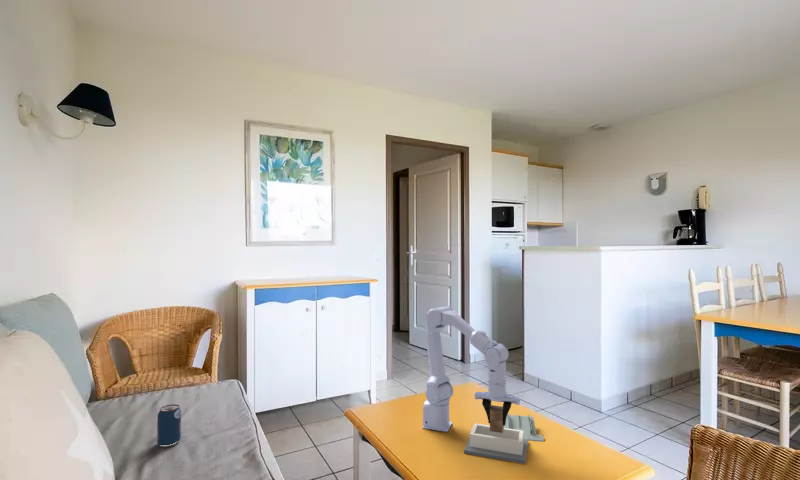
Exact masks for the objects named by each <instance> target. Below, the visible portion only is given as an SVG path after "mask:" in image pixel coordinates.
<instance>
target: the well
mask: <svg viewBox="0 0 800 480" xmlns="http://www.w3.org/2000/svg"><path fill="white" fill-rule="evenodd" d="M528 446H529V440H528V439H524V431H522V430H516V429H509V428H504V429H503V433H499V432H492V431H490V424H489V425H488V424H482V423H476V422H475V423H473V426H472V428H471V431H470V433H469V438H468V441H467V443H466V445H465V447H464V449H463V451H464V452H463V454H467V455H472V456H477V457H484V458H489V459H495V460H501V461H506V462H512V463H516V464H523V465H526V464H527V459H528V457H527V456H528V449H529V447H528Z"/></svg>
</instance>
